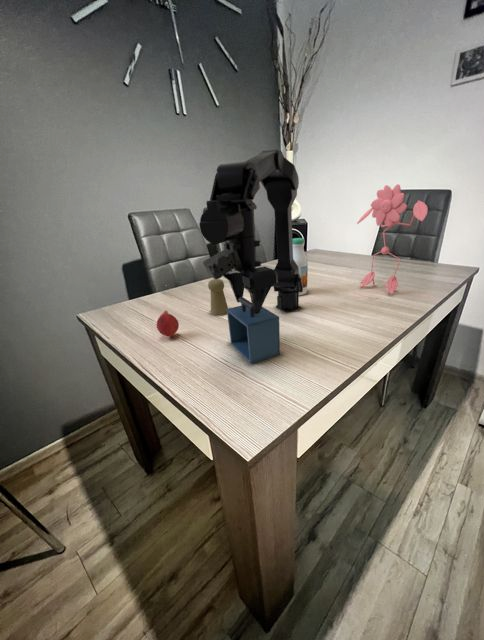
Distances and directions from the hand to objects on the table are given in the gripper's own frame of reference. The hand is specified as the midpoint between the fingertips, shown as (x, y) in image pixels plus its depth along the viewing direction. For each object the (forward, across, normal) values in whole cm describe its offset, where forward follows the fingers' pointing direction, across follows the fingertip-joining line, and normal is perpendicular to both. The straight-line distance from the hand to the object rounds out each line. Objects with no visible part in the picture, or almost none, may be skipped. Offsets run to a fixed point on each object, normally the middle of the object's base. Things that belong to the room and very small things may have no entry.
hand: (247, 307), depth 64 cm
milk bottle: (+12, -31, +36) cm, 49 cm away
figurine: (+12, -14, +59) cm, 62 cm away
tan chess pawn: (+12, -30, +3) cm, 32 cm away
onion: (+12, -20, -16) cm, 28 cm away
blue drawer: (+5, 0, +5) cm, 7 cm away
